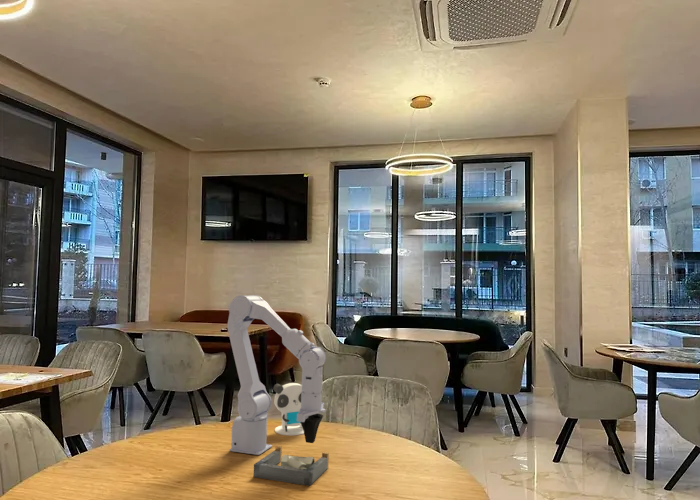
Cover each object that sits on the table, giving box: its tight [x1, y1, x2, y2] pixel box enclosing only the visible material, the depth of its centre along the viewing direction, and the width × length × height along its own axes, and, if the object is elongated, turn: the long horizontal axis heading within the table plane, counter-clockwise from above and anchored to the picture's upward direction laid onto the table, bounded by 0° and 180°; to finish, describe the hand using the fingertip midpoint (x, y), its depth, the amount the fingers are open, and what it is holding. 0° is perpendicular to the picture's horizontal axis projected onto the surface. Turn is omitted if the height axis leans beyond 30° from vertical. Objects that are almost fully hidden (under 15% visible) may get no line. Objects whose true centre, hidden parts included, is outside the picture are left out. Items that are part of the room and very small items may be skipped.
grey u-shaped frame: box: [253, 445, 330, 487], centre depth 122 cm, size 15×12×4 cm
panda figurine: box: [273, 382, 304, 436], centre depth 158 cm, size 12×11×15 cm
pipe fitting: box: [280, 454, 316, 470], centre depth 122 cm, size 8×4×7 cm
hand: (310, 442), depth 133 cm, fingers closed
